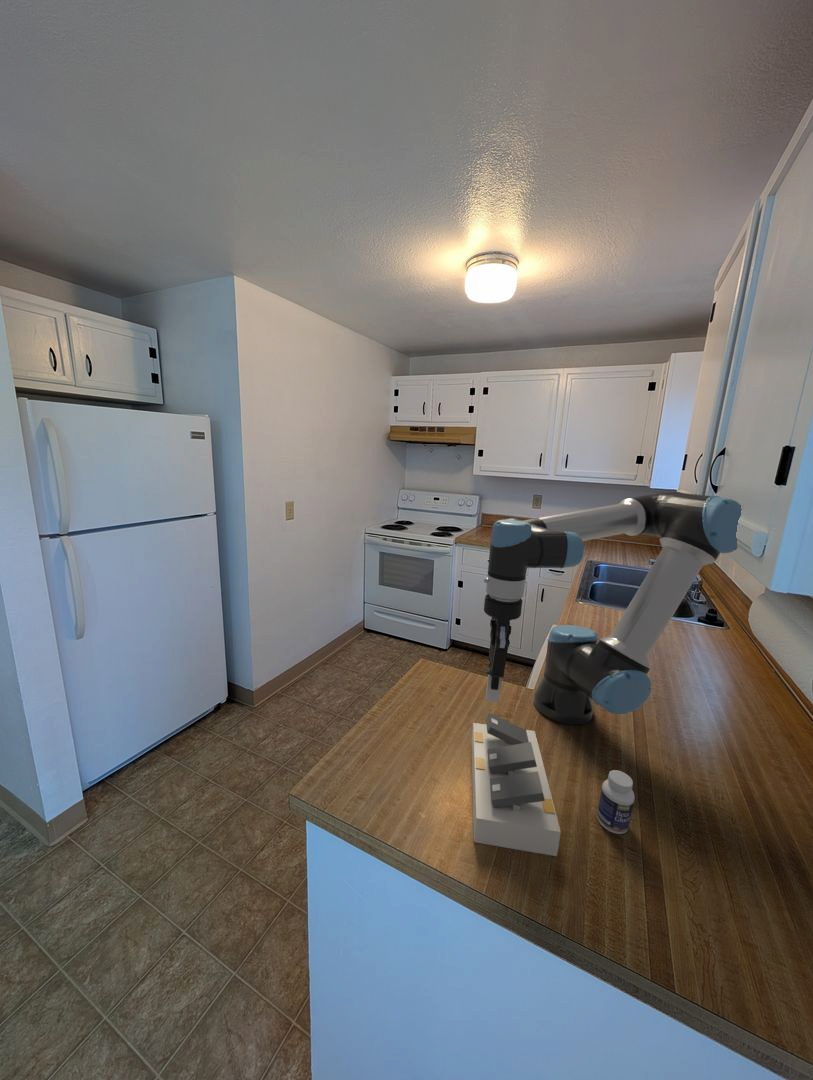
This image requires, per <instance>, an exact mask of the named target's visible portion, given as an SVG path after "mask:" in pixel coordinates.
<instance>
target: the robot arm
mask: <svg viewBox="0 0 813 1080" xmlns="http://www.w3.org/2000/svg"><path fill="white" fill-rule="evenodd" d="M741 506H742V504H741V503H739V502H738V501H736V500H735V499H732V498H727V497H721V496H720V495H704V494H694V493H687V492H679V491H663V492H656V493H651V494H650V493H649V494H645V495H640V496H635V497H633V496H632V497H628V498H624V499H623V500H621V501H620V502H619V503H617V504H611V505H605V506H599V507H593V508H589V509H583V510H578V511H577V510H576V511H571V512H565V513H560V514H553V515H548V516H541V517H535V518H529V519H524V520H523V519H520V518H513V517H512V518H507V519H499V520H497V521H495V522H494V523H493V526H492V530H491V535H490V540H489V555H488V556H489V557H488V566H487V578H486V577H485V578H483V582H484V584H486V587H485V593H486V594H485V595H484V602H483V611H484V613H485V614H486V615H487V616H488V617H491V618H490V622H489V625H490V633H489V637H490V642H489V643H490V644H489V655H488V658H487V659H488V662H489V663H488V668H489V669H486V671H485V673H486V674H485V675H487V681H486V682H487V683H486V690H485V701H487V702H495V703H500V695H501V693H500V692H501V686H502V678H504V676H505V669H506V663H507V658H508V651H509V646H510V644H511V641H510V635H511V633H512V625H511V622H510V621H512V620H513V621H514V620H517V619H519V618H520V617H521V615H522V610H523V609H522V607H523V600H522V598H523V597H524V594H525V585H526V575H527V570H528V569H538V568H539V569H542V568H543V569H565V568H573V567H576V566H578V565H579V564H580V563H581V562H582V560H583V558H584V553H585V552H584V551H585V545H584V542H587V541H592V540H597V539H602V538H607V537H613V536H618V535H622V534H623V535H624V534H625V535H627V536H630V537H634V536H640V535H641V536H642V535H646V536H653V537H659V542H660V545H661V551H660V552H659V554H658V555H657V557H656V559H654V560H655V561H654V562H653V563H652V566H651V567H650V569H649V571H648V572H647V574H646V575H645V578H644V579H643V581H642V582H641V584H640V586H639V588H638V589H637V591H636V592H635V594H634V596H633V597H632V599H631V600H630V603H629V604H628V606H627V607H626V609H625V611H624V613H623V614H622V616H621V617H620V618H619V621H618V622H617V624H616V626H615V628H614V629H613V631H612V633H611V635H609V636H605V637H601V638H600V639H599V638H598V633H597V632H596V631H595V630H593V629H590V628H588V627H584V626H579V625H571V624H568V625H567V624H561V625H557V626H553V627H552V628H551V629H550V631H549V635H548V639H547V647H546V655H545V664H544V672H543V677H542V678H541V680H540V682H539V683H538V685H537V688H536V689H535V692H534V694H533V695H534V696H533V704H534V707H535V708H536V710H537V711H538V712H539V713H540V714H541V715H543V716H545V717H546V718H548V719H550V720H552V721H555V722H557V723H560V724H564V725H569V726H570V725H571V726H581V725H585V724H587V723H589V722H590V721H591V720H592V718H593V714H594V705H593V702H594V703H595V704H596V705H598V706H600V707H601V708H603V709H604V710H605V711H607V712H608V713H611V714H613V715H627V714H629V713H632V712H634V711H636V710H639V708H640V707H642V706H643V705H644V704H645V703H646V701H647V700H648V698H649V697H650V694H651V692H652V688H651V687H652V681H651V679H650V678H649V676H648V673H649V672H650V670H651V667H652V666H651V663H650V660H649V655H650V654H651V653H652V651H653V649H654V647H655V646H656V644H657V643H658V641H659V639H660V638H661V636H662V634H663V633H664V631H665V629H666V628H667V626H668V624H669V623H670V621H671V619H672V618H673V616H674V614H675V613H676V611H677V609H678V608H679V606H680V605H681V603H682V601H683V599H684V598H685V596H686V594H687V593H688V592H689V590H690V588H691V586H692V585H693V583H694V581H695V580H696V578H697V577H698V574H699V573H700V571H701V570H702V568H703V567H704V566H707V565H710V564H711V565H712V564H714V563H716V561H717V559H718V558H719V555H720V554H729V553H733V552H734V551H736V550H738V549H739V548H738V547H737V538H736V532H737V525H738V520H739V518H740V516H741V510H742V509H741ZM737 548H738V549H737Z"/></svg>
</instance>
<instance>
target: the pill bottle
mask: <svg viewBox="0 0 813 1080" xmlns="http://www.w3.org/2000/svg"><path fill="white" fill-rule="evenodd" d="M633 781H634V780H633V779H632V778H631V776H630V775H628V774H627V773H625V772H623V771H621V770H616V769H613V770H610V771H609V773H608V777H607V779H605V780H604V781H603V782H602V784H601V785H602V786H601V790H600V795H599V800H598V801H599V802H598V806H597V809H596V810H597V811H596V817H597V821H598V822H599V824H600V825H601V826H602V827H603V828H604V829H606V831H608V832H611V833H613V834H617V835H623V834H625V833H627V832H628V830H629V828H630V822H631V820H632V819H631V817H632V813H633V809H634V805H635V804H634V803H635V799H636V797H635V793H634V791H633V785H634V782H633Z"/></svg>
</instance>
